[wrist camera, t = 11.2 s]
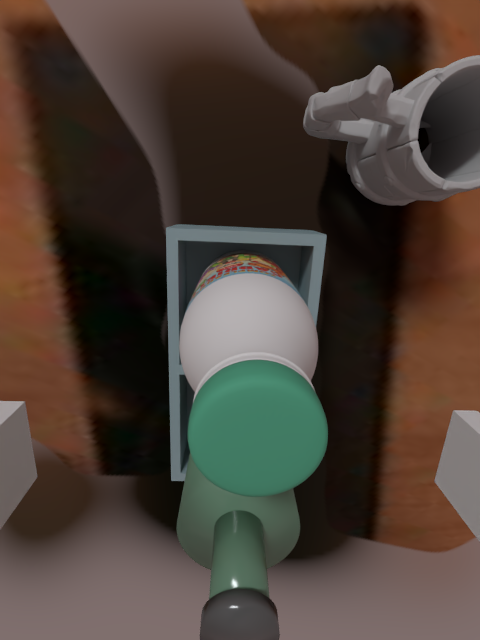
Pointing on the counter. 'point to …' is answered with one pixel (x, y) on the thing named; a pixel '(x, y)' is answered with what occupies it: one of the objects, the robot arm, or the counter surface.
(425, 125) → the mug
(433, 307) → the counter surface
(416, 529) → the counter surface
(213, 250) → the crate
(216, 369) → the milk bottle
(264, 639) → the green bottle
